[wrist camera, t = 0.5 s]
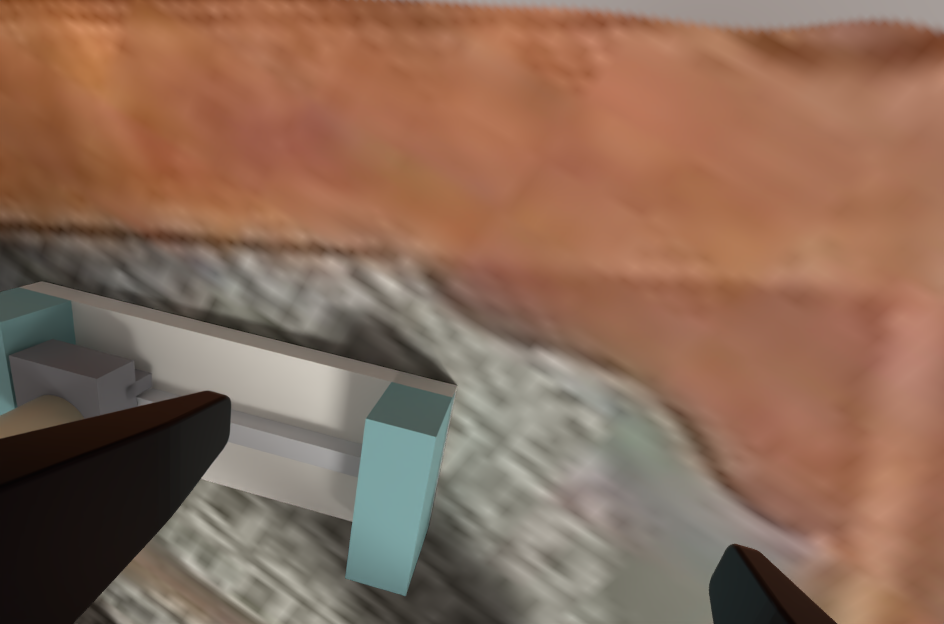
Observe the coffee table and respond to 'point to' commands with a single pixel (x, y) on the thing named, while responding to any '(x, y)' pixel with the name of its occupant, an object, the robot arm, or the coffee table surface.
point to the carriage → (69, 386)
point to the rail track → (274, 415)
